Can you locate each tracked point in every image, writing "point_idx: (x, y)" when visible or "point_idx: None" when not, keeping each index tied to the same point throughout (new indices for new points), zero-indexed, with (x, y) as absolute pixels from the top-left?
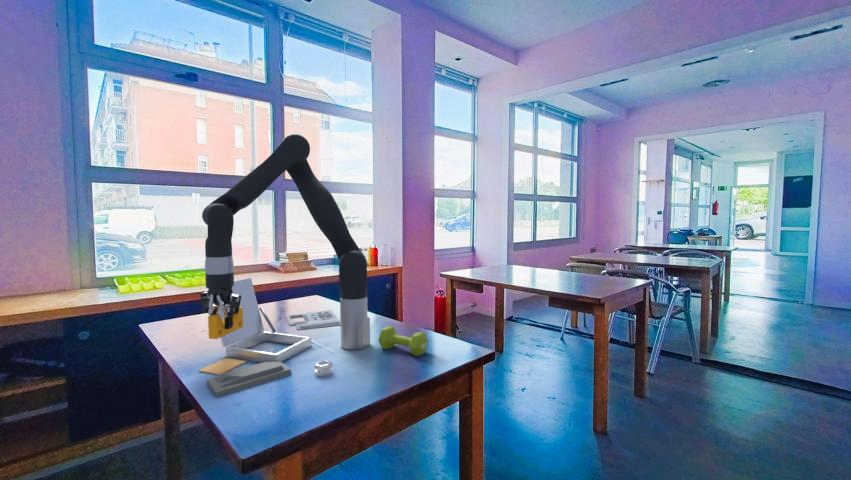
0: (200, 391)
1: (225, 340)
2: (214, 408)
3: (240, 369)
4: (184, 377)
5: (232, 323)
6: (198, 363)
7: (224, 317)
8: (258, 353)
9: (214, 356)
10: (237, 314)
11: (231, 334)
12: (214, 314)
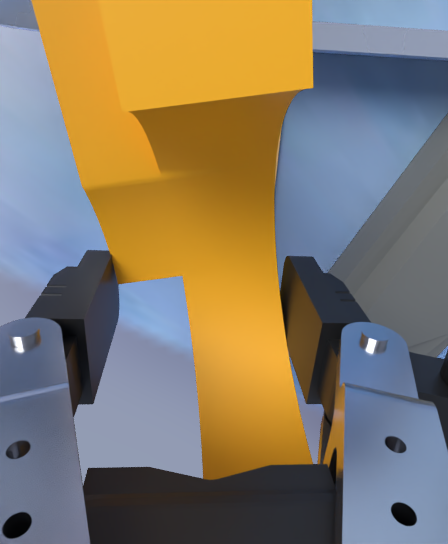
0: (298, 382)
1: (18, 2)
2: None
3: (402, 287)
4: (131, 323)
5: (345, 295)
6: (28, 185)
7: (306, 399)
8: (372, 53)
9: (4, 60)
10: (276, 109)
11: None
12: (78, 369)
